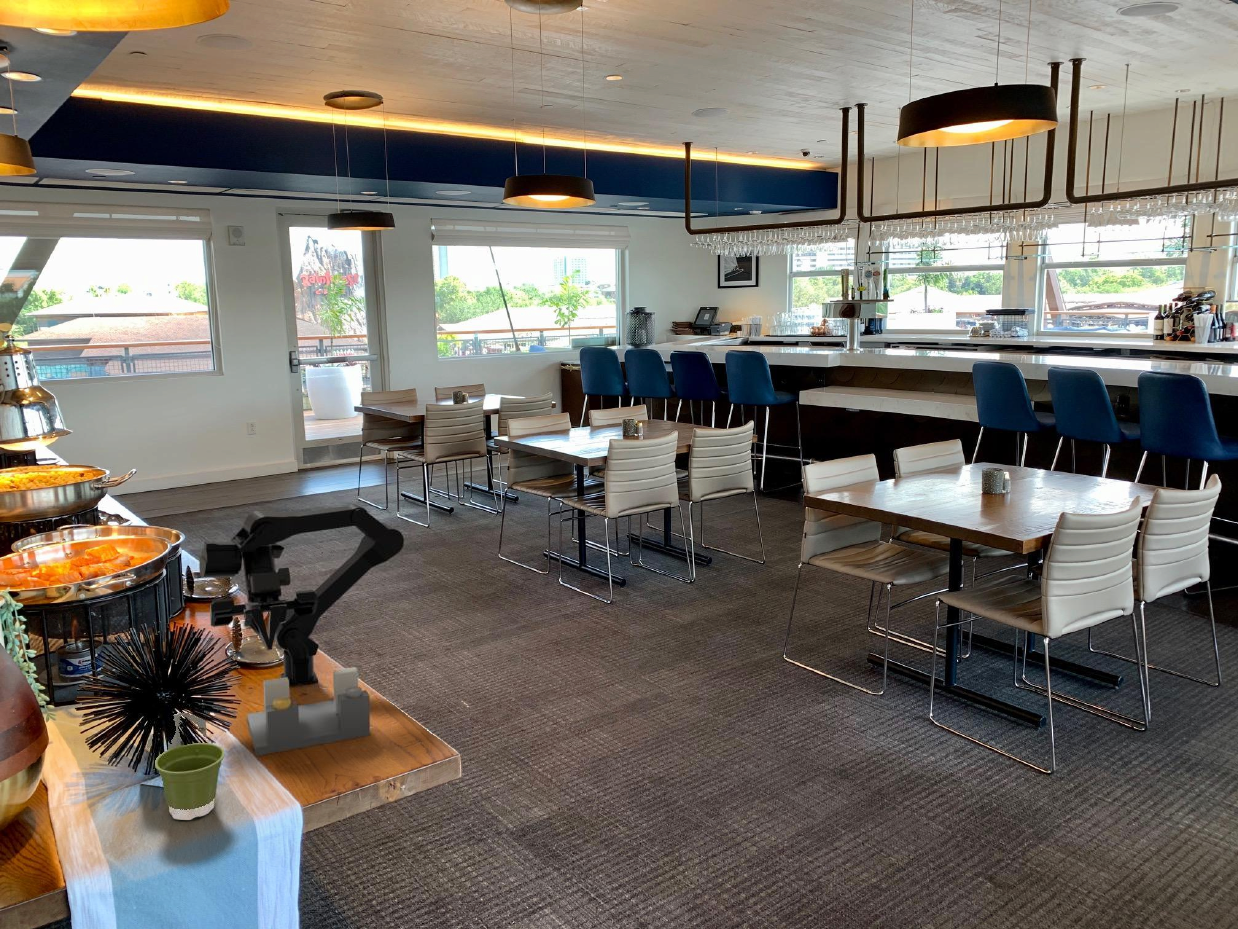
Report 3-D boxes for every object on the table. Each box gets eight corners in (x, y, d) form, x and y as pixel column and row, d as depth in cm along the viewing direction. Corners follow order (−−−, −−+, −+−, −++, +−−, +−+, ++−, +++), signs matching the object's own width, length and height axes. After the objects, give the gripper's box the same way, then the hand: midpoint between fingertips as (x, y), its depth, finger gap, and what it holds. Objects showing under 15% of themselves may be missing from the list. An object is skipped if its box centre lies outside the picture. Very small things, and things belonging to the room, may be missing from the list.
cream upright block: (334, 709, 169) (333, 670, 167) (356, 705, 170) (355, 667, 169) (336, 713, 167) (335, 674, 166) (358, 710, 169) (357, 671, 167)
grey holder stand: (247, 722, 167) (245, 677, 165) (353, 704, 175) (352, 662, 174) (256, 756, 154) (254, 708, 153) (370, 735, 163) (369, 690, 162)
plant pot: (180, 792, 142) (178, 740, 141) (238, 797, 141) (236, 745, 140) (143, 825, 133) (140, 769, 132) (205, 831, 132) (202, 775, 131)
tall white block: (264, 721, 163) (263, 680, 162) (288, 717, 165) (287, 677, 164) (266, 725, 161) (264, 685, 160) (290, 721, 163) (288, 681, 162)
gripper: (208, 558, 166) (215, 636, 158) (315, 549, 174) (327, 622, 167) (207, 588, 174) (214, 663, 166) (309, 577, 183) (320, 649, 175)
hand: (269, 649), depth 168 cm, fingers closed
